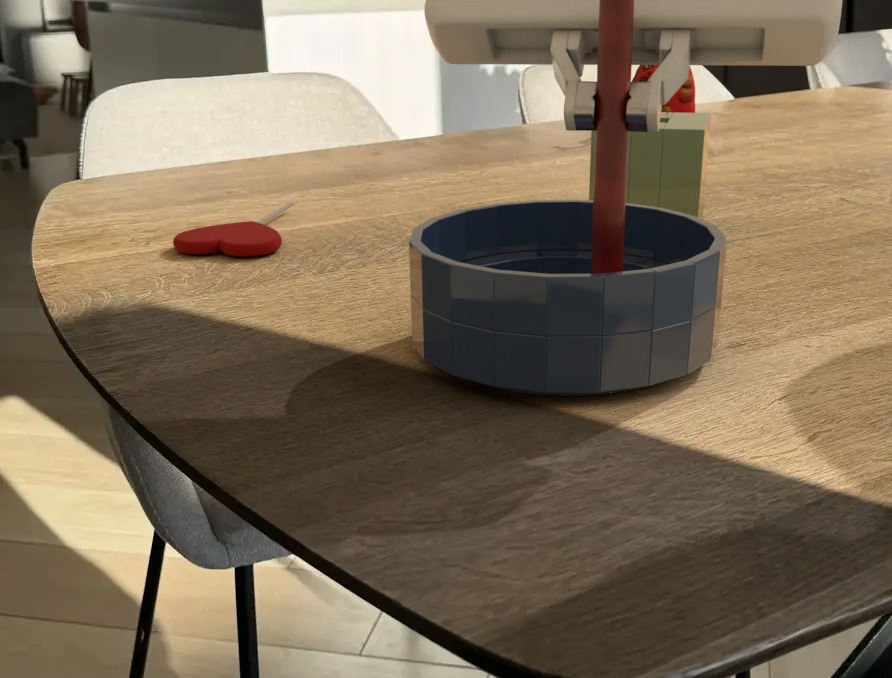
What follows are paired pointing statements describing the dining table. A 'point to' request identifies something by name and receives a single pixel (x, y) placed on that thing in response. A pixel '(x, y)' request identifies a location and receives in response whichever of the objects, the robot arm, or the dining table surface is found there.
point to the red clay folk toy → (680, 100)
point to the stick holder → (667, 164)
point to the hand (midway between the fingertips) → (611, 124)
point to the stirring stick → (611, 134)
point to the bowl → (564, 297)
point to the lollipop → (232, 238)
